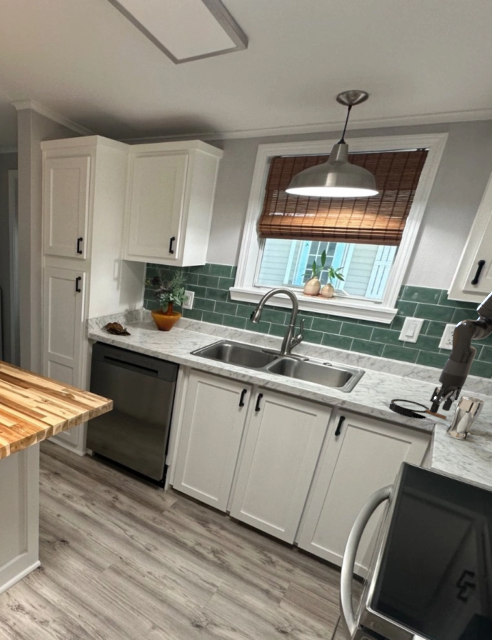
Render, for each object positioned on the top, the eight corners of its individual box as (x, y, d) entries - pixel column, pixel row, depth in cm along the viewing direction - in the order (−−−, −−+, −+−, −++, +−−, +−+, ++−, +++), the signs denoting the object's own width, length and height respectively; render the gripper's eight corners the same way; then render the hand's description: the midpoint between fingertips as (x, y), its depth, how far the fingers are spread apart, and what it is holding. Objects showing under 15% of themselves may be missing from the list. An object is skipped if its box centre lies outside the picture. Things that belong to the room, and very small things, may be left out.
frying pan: (451, 424, 162) (455, 414, 161) (432, 428, 157) (436, 418, 156) (400, 405, 179) (403, 396, 178) (381, 408, 174) (384, 399, 172)
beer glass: (443, 429, 156) (459, 393, 150) (466, 435, 152) (484, 399, 147) (444, 436, 151) (461, 399, 145) (468, 442, 147) (486, 405, 141)
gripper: (456, 377, 148) (439, 417, 154) (476, 374, 154) (460, 413, 160) (433, 370, 154) (418, 409, 160) (454, 368, 160) (439, 405, 166)
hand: (439, 411), depth 160 cm, fingers open, 8 cm apart
